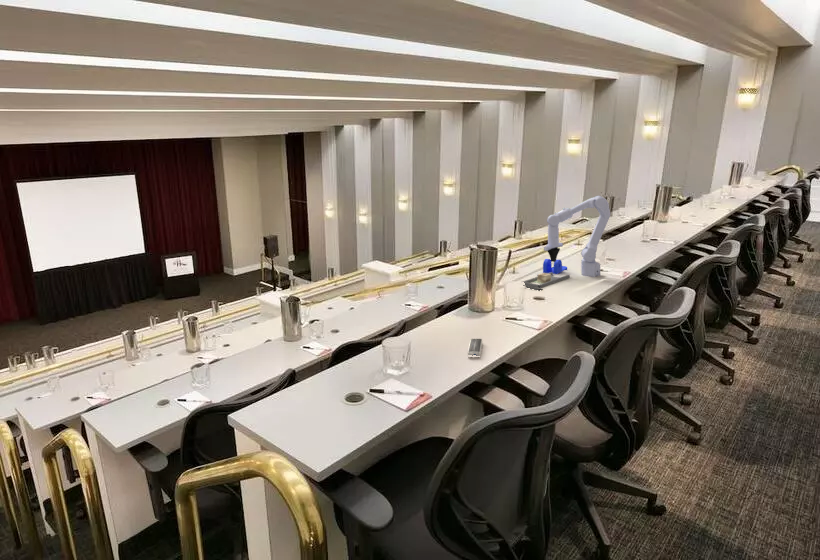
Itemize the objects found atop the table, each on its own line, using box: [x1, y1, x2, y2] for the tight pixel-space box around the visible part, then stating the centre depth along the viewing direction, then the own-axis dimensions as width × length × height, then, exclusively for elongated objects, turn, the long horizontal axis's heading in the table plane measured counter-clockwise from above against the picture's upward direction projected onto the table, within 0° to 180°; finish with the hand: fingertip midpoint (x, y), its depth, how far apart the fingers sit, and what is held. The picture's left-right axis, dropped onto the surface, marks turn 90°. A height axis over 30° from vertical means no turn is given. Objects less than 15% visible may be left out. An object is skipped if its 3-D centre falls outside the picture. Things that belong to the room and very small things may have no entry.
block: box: [536, 272, 552, 284], centre depth 278 cm, size 5×5×4 cm
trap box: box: [522, 272, 571, 292], centre depth 279 cm, size 12×27×3 cm, turn 130°
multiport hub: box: [467, 338, 483, 357], centre depth 196 cm, size 4×14×2 cm, turn 169°
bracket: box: [542, 258, 568, 275], centre depth 301 cm, size 18×8×9 cm, turn 142°
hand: (553, 261), depth 288 cm, fingers closed
